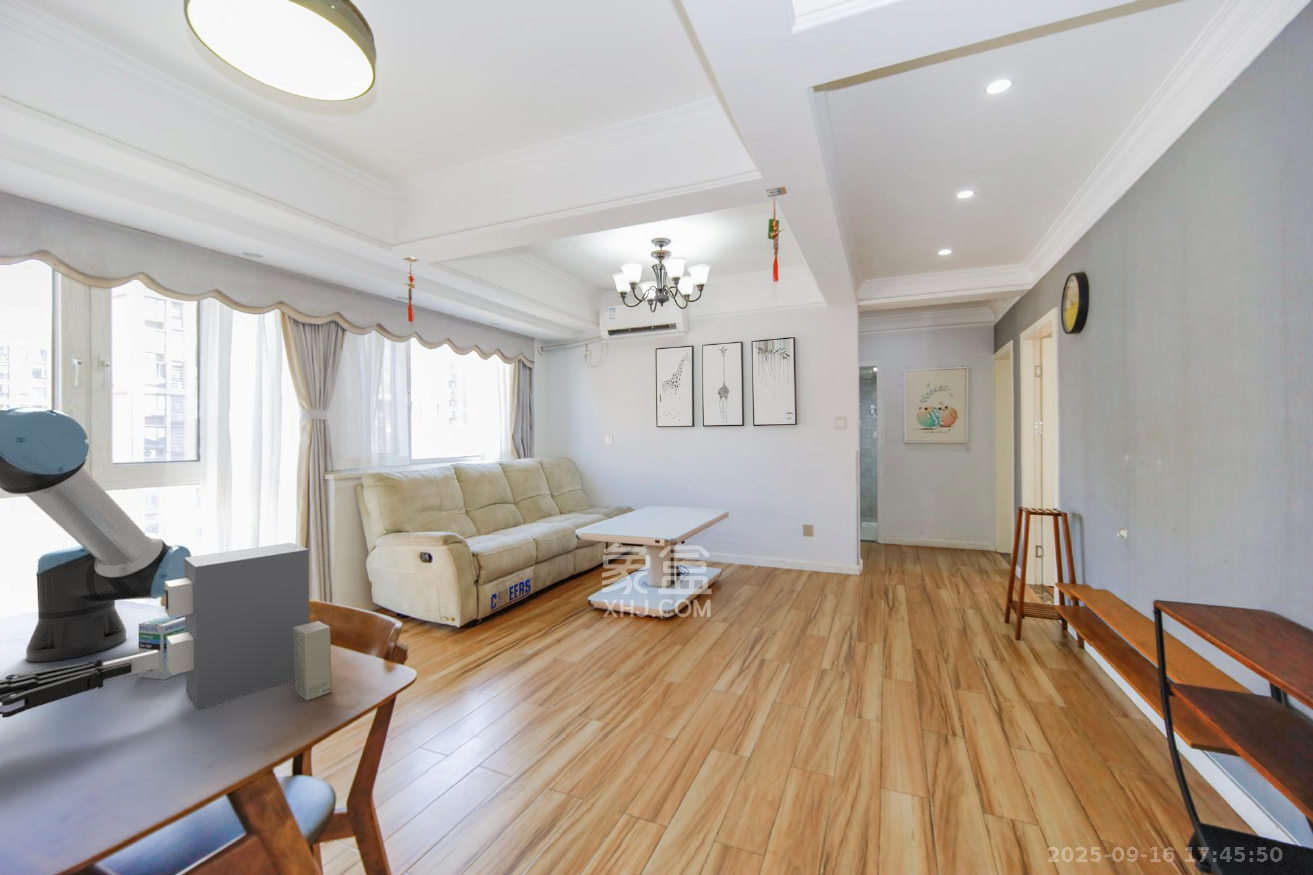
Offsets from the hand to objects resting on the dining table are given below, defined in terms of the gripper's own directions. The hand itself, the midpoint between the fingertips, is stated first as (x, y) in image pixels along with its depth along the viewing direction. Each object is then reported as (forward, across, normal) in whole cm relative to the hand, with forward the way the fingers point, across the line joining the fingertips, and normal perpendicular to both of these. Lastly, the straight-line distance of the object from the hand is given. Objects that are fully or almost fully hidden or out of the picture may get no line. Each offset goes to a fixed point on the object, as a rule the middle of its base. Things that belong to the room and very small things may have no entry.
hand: (157, 658), depth 90 cm
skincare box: (+19, +14, -9) cm, 26 cm away
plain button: (+5, 0, -3) cm, 5 cm away
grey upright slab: (+13, 0, -9) cm, 16 cm away
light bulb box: (+5, -20, -9) cm, 23 cm away
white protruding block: (+4, 0, +7) cm, 8 cm away
